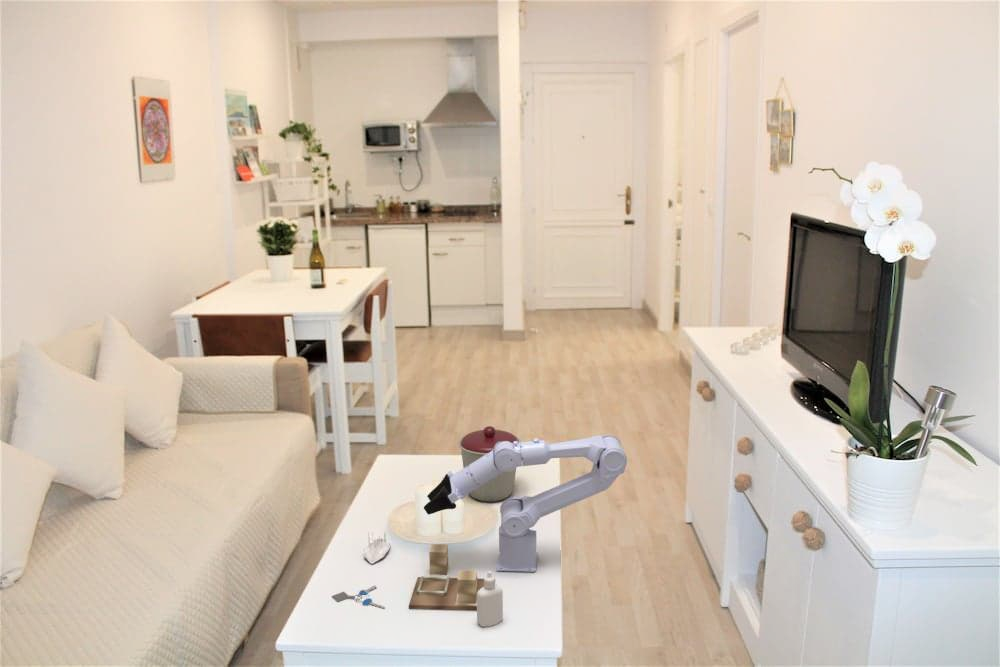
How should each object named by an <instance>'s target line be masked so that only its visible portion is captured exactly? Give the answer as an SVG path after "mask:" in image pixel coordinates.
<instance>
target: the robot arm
mask: <svg viewBox="0 0 1000 667" xmlns="http://www.w3.org/2000/svg"><path fill="white" fill-rule="evenodd" d="M532 439H533V440H531V441H530V440H529V441H521V442H517V441H514V442H513V443H510V442H509V441H503V442H498V443H497V444H496V445H495V446H494V449H493V450H492V451H491V452H489V453H488V454H486V455H484V456H482V457H481V458H479V459H478V460H476V461H475V462H473V463H471V464H470V465H468V466H467V467H465V468H462V469H460V470H459V471H458V472H456V473H453V472H452V471H448V472H447V473H446V474H445V475H444V477H443V478H442V480H441V481H440V482H439V483H438V485H436V487H435V488H433V490H431V491H430V492H429V493H428V495H426V497H427V498H428V500H429V501H428V502H426V504H425V505H424V506H423V509H424V511H425V513H426V514H427V515H431V514H435V513H437V512H441V511H446V510H454V509H455V510H456V508H457V504H456V502H458V501H459V500H460V499H464V498H465V497H466V496H467V495H470V494H469V493H470V492H472V491H473V490H475V489H477V488H478V487H480V486H481V485H483V484H484V483H486V482H488V481H489V480H491V479H492V478H494V477H496V476H497V475H498V474H500V473H502V472H503V471H504V472H512V471H513V470H515V469H516V470H517V468H518V467H519V468H520V467H529V466H538V465H546V464H548V462H550V461H551V459H562V458H563V459H565V458H581V457H582V458H586V459H587V460H588V461H590V462H591V463H593V464H592V468H591V470H590V471H589V472H587V473H585V474H583V475H580V476H578V477H576V478H574V479H570V480H569V481H567V482H564V483H561V484H559V485H557V486H555V487H552V488H549V489H547V490H546V491H543V492H540V493H538V494H536V495H534V496H529V495H523V496H521V497H509V498H507V499H506V500H505V499H504V501H502V503H501V505H500V507H499V508H500V511H499V512H500V518H501V519H500V521H501V522H500V526H499V528H498V552H499V553H498V557H497V564H496V571H497V572H517V573H518V572H519V573H521V572H524V573H525V572H526V573H533V572H534V573H535V572H536V571H537V560H538V556H539V554H538V552H537V530H534V529H531V528H533V527H535V526H536V524H537V523H538V522H539V520H540V519H541V518H543V517H546V516H548V515H550V514H553V513H556V512H557V511H560V510H562V509H565V508H567V507H569V506H571V505H573V504H576V503H578V502H581V501H583V500H585V499H588V498H591V497H593V496H595V495H597V494H599V493H602V492H604V491H606V490H608V489H610V487H611V486H612V485H613V483H614V482H615V481H616V479H618V477H619V476H620V475H622V474H624V473H625V471H626V467H627V463H628V456H627V454H626V452H625V451H624V448H623V446H622V443H621V440H620V439H619V438H618V437H617V436H616V435H614V434H605V435H601V434H600V435H597V434H596V435H593V436H590V437H587V438H586V437H585V438H581V439H575V440H569V441H561V442H555V443H548V442H547V441H545V440H544V439H539V438H538V437H535V438H532Z"/></svg>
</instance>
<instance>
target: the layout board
mask: <svg viewBox="0 0 1000 667" xmlns="http://www.w3.org/2000/svg"><path fill="white" fill-rule="evenodd" d="M482 587H484V578H478V570H463V569H462V570H459V571H458V576H457V577H450V576H417V578H416V581H415V584H414V587H413V589H412V590H413V591H412V594H411V597H410V601H409V603H408V609H409V610H437V611H438V610H440V611H473V612H474V611H475V612H477V592H478V591H479V590H480V589H481V588H482Z"/></svg>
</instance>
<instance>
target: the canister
mask: <svg viewBox="0 0 1000 667" xmlns="http://www.w3.org/2000/svg"><path fill="white" fill-rule="evenodd" d="M503 441H509V442H510V443H513V442H514V441H517V442H522V441H521V439H520V438H519V437H518V436H517V435H514V434H513V433H511V432H508V431H505V430H501V429H495V427H493V426H491V425H489V426H485V427H484V428H483V429H480V430H475V431H472V432H469V433H467V434H466V435H464V436H462V437H461V438H460V439H459V440H458V443H457V444H458V447H459V448H460V450H461V452H460V453H461V458H462V460H461V461H462V469H464V468H465V467H467V466H468V465H470V464H471V463H473V462H475V461H476V460H478V459H479V458H481V457H482V456H484V455H486V454H488V453H489V452H491V451H492V450H493V449H494V446H495V445H496V444H497V443H498V442H503ZM516 473H517V468H516V469H515V470H513V471H512V472H504V471H503V472H502V473H500V474H498V475H497V476H496V477H494V478H492V479H491V480H489V481H488V482H486V483H484V484H483V485H481V486H480V487H478V488H477V489H475V490H473V491H472V492H470V493H469V494H468V495H470V496H471V497H472V498H473V499H476V500H477V499H478V500H477V501H481V502H489V503H490V502H497V501H502V500H505V499H506V498H508V497H509V496H510V495H511V494H512V493H513V491H514V486H515V480H516Z"/></svg>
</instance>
